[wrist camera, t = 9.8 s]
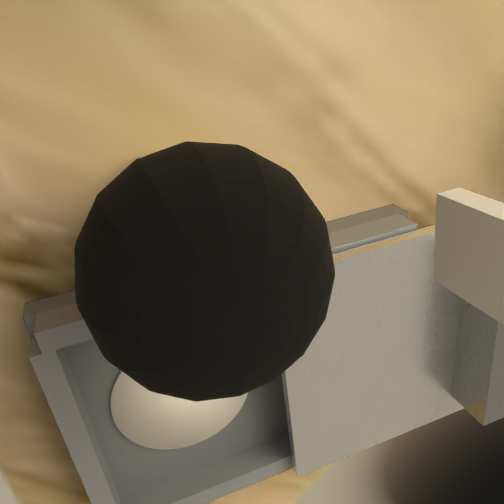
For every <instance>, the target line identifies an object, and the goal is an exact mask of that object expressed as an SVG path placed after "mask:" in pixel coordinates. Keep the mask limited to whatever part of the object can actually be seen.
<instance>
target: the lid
mask: <svg viewBox="0 0 504 504" xmlns="http://www.w3.org/2000/svg"><path fill="white" fill-rule="evenodd" d="M434 245H435V225H432V226H429V227H425V228H422V229H418V230H415V231H412V232H408V233H405V234H401V235H398V236H394V237H391V238H387V239H384V240H380V241H377V242H374V243H370V244H367V245H363V246H360V247H356V248H353V249H349V250H346V251H343V252H339V253H336V254H332V256H333V262H334V268H335V278H334V283H333V288H332V293H331V297H330V302H329V306H328V311H327V316H326V319H325V321H324V322H323V324H322V326H321V327H320V329H319V330H318V332H317V334H316V335H315V337H314V339H313V340H312V342H311V343H310V345H309V347H308V348H307V350H306V351H305V353H304V355H303V356H302V357H300V358H299V359H298V360H297V361H296V362H295V363H294V364H292V365H291V366H290V367H289V368H288V369H287V370H286V371H284V372H283V373H282V382H283V391H284V399H285V407H286V415H287V424H288V432H289V440H290V448H291V457H292V465H293V470H294V472H295V473H296V475H297V477H299V476H302V475H304V474H307V473H309V472H312V471H314V470H316V469H319V468H321V467H324V466H326V465H328V464H331V463H333V462H336V461H338V460H340V459H343V458H345V457H348V456H350V455H353V454H355V453H357V452H360V451H362V450H365V449H367V448H369V447H372V446H374V445H377V444H379V443H381V442H384V441H386V440H389V439H391V438H393V437H396V436H398V435H401V434H403V433H406V432H408V431H410V430H413V429H415V428H417V427H420V426H422V425H425V424H427V423H430V422H432V421H434V420H437V419H439V418H442V417H444V416H447V415H449V414H451V413H454V412H456V411H459V410H461V409H463V408H465V409H466V410H467V411H468V412H469V413H470V414H471V415H473V416H474V417H475V418H476V419H477V420H478V421H479V422H480V423H481V424H482V425H483V426H484V425H487V424H489V423H491V422H494V421H496V420H498V419H501V418H503V417H504V325H503V324H501V323H500V322H498V321H497V320H495V319H494V318H492V317H490V316H489V315H487V314H486V313H484V312H483V311H481V310H479V309H478V308H476V307H475V306H473V305H472V304H470V303H469V302H467V301H465V300H464V299H462V298H461V297H459V296H458V295H456V294H454V293H453V292H451V291H450V290H448V289H447V288H445V287H443V286H442V285H440V284H439V283H437V282H436V281H434V280H433V266H434Z"/></svg>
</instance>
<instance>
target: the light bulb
mask: <svg viewBox="0 0 504 504" xmlns="http://www.w3.org/2000/svg"><path fill="white" fill-rule="evenodd" d="M334 278H335V268H334V262H333V256H332V251H331V245H330V240H329V234H328V229H327V225H326V222H325V219H324V218H323V216H322V214H321V213H320V211H319V210H318V209H317V207H316V206H315V205H314V203H313V202H312V200H311V199H310V198H309V196H308V195H307V193H306V192H305V191H304V189H303V188H302V186H301V185H300V184H299V182H298V181H297V179H296V178H295V177H294V176H293V175H292V174H291V173H290V172H289V171H287V170H286V169H284V168H282V167H281V166H279V165H277V164H275V163H273V162H271V161H269V160H268V159H266V158H264V157H262V156H260V155H258V154H256V153H255V152H253V151H251V150H249V149H247V148H245V147H243V146H239V145H233V144H217V143H201V142H183V143H180V144H178V145H175V146H172V147H169V148H166V149H164V150H161V151H158V152H155V153H151V154H148V155H146V156H143V157H140V158H138V159H136V160H135V161H134V162H133V163H132V164H131V165H130V166H128V167H127V168H126V169H125V170H124V171H123V172H122V173H121V174H120V175H118V176H117V177H116V178H115V179H114V180H113V181H112V182H111V183H110V184H109V185H107V186H106V187H105V188H104V189H103V190H102V191H101V192H100V193H99V194H98V195H97V197H96V199H95V201H94V203H93V205H92V208H91V210H90V212H89V214H88V216H87V219H86V221H85V223H84V225H83V227H82V230H81V232H80V234H79V236H78V238H77V241H76V244H75V299H76V304H77V307H78V310H79V312H80V313H81V315H82V317H83V319H84V321H85V323H86V325H87V327H88V329H89V331H90V333H91V334H92V336H93V338H94V340H95V342H96V344H97V346H98V348H99V350H100V351H101V353H102V355H103V356H104V357H105V359H106V360H107V361H108V362H110V363H111V364H112V365H114V366H115V367H117V368H118V369H119V370H121V371H122V372H123V373H125V374H126V375H128V376H129V377H130V378H132V379H133V380H134V381H136V382H137V383H139V384H140V385H141V386H143V387H144V388H146V389H147V390H149V391H151V392H155V393H159V394H163V395H168V396H172V397H177V398H181V399H186V400H190V401H195V402H198V401H206V400H214V399H221V398H229V397H237V396H241V395H243V394H245V393H248V392H250V391H252V390H254V389H256V388H258V387H261V386H263V385H265V384H267V383H269V382H271V381H274V380H275V379H276V378H278V377H279V376H280V375H281V374H282V373H283V372H284V371H286V370H287V369H288V368H289V367H290V366H291V365H292V364H294V363H295V362H296V361H297V360H298V359H299V358H300V357H302V356H303V355H304V353H305V351H306V350H307V348H308V347H309V345H310V343H311V342H312V340H313V339H314V337H315V335H316V334H317V332H318V330H319V329H320V327H321V326H322V324H323V322H324V321H325V319H326V316H327V311H328V306H329V302H330V297H331V293H332V288H333V283H334Z"/></svg>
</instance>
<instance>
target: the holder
mask: <svg viewBox="0 0 504 504" xmlns="http://www.w3.org/2000/svg"><path fill="white" fill-rule="evenodd" d="M326 225H327V229H328V234H329V240H330V245H331V251H332V254H336V253H339V252H343V251H346V250H349V249H353V248H356V247H360V246H363V245H367V244H370V243H374V242H377V241H380V240H384V239H387V238H391V237H394V236H398V235H401V234H405V233H408V232H412V231H415V230H417V228H418V224H417V223H415V222H413V221H412V220H410V219H408V218H407V211H405V210H403V209H401V208H400V207H398V206H396V205H394V204H392V205H388V206H385V207H381V208H377V209H373V210H370V211H366V212H362V213H359V214H355V215H351V216H347V217H344V218H340V219H336V220H333V221H329V222H326ZM23 318H24V321H25V323H26V326H27V328H28V331H29V333H30V335H31V343H30V352H29V360H30V362H31V364H32V367H33V369H34V371H35V374H36V376H37V378H38V381H39V383H40V385H41V388H42V390H43V392H44V395H45V397H46V399H47V402H48V404H49V406H50V409H51V411H52V413H53V416H54V418H55V420H56V423H57V425H58V427H59V430H60V432H61V434H62V437H63V439H64V441H65V444H66V446H67V448H68V451H69V453H70V455H71V458H72V460H73V462H74V465H75V467H76V469H77V472H78V474H79V476H80V479H81V481H82V483H83V486H84V488H85V490H86V493H87V495H88V497H89V500H90V502H91V504H206V503H208V502H210V501H213V500H215V499H218V498H220V497H223V496H225V495H228V494H230V493H233V492H235V491H237V490H240V489H242V488H245V487H247V486H250V485H252V484H255V483H257V482H259V481H262V480H264V479H267V478H269V477H272V476H274V475H277V474H279V473H282V472H284V471H286V470H289V469H291V468H293V465H292V457H291V448H290V440H289V432H288V424H287V415H286V407H285V399H284V391H283V382H282V374H281V375H280V376H279V377H278V378H276V379H275V380H274V381H271V382H269V383H267V384H265V385H263V386H261V387H258V388H256V389H254V390H252V391H250V392H248V393H245V394H243V395H241V396H237V397H229V398H221V399H214V400H206V401H198V402H195V401H190V400H186V399H181V398H177V397H172V396H168V395H163V394H159V393H155V392H151V391H149V390H147V389H146V388H144V387H143V386H141V385H140V384H139V383H137V382H136V381H134V380H133V379H132V378H130V377H129V376H128V375H126V374H125V373H123V372H122V371H121V370H119V369H118V368H117V367H115V366H114V365H112V364H111V363H110V362H108V361H107V360H106V359H105V357H104V356H103V355H102V353H101V351H100V350H99V348H98V346H97V344H96V342H95V340H94V338H93V336H92V334H91V333H90V331H89V329H88V327H87V325H86V323H85V321H84V319H83V317H82V315H81V313H80V312H79V310H78V307H77V304H76V299H75V290H73V291H69V292H65V293H62V294H58V295H54V296H50V297H47V298H43V299H39V300H36V301H32V302H28V303H25V308H24V315H23Z"/></svg>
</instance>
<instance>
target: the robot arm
mask: <svg viewBox="0 0 504 504" xmlns="http://www.w3.org/2000/svg"><path fill="white" fill-rule="evenodd" d="M433 280H434V281H436V282H437V283H439V284H440V285H442V286H443V287H445V288H447V289H448V290H450V291H451V292H453V293H454V294H456V295H458V296H459V297H461V298H462V299H464V300H465V301H467V302H469V303H470V304H472V305H473V306H475V307H476V308H478V309H479V310H481V311H483V312H484V313H486V314H487V315H489V316H490V317H492V318H494V319H495V320H497V321H498V322H500V323H501V324H503V325H504V203H502V202H499V201H496V200H493V199H490V198H488V197H485V196H482V195H479V194H477V193H474V192H471V191H468V190H465V189H463V188H460V187H459V188H456V189H452V190H448V191H445V192H441V193H437V204H436V224H435V245H434V266H433Z"/></svg>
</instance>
